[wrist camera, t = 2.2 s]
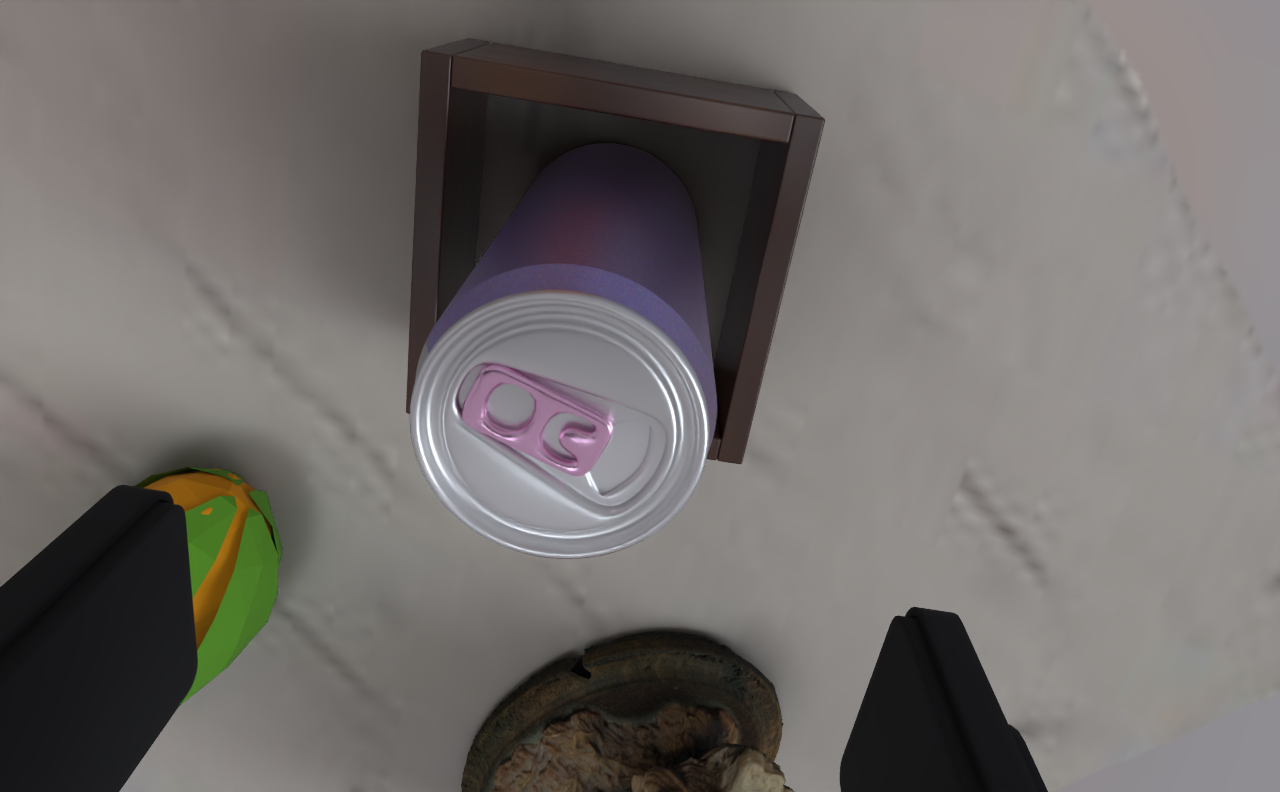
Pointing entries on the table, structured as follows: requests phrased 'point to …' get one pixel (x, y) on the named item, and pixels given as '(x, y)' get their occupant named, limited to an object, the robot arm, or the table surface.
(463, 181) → the caddy
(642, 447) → the beverage can
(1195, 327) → the table surface
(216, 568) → the corn
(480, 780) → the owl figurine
